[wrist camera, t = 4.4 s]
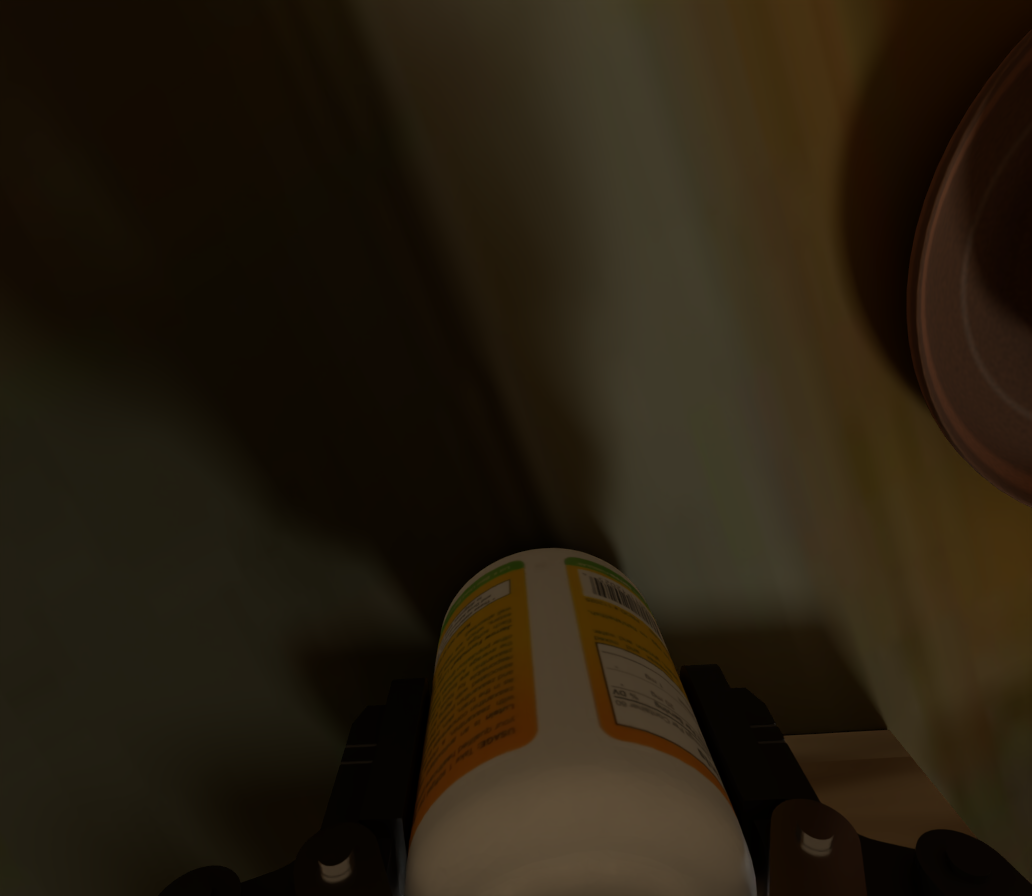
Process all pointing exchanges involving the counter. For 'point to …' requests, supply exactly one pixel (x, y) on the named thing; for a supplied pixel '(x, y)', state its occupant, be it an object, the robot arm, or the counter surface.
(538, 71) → the counter surface
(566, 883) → the supplement bottle
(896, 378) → the counter surface
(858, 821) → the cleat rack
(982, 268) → the cup and saucer
